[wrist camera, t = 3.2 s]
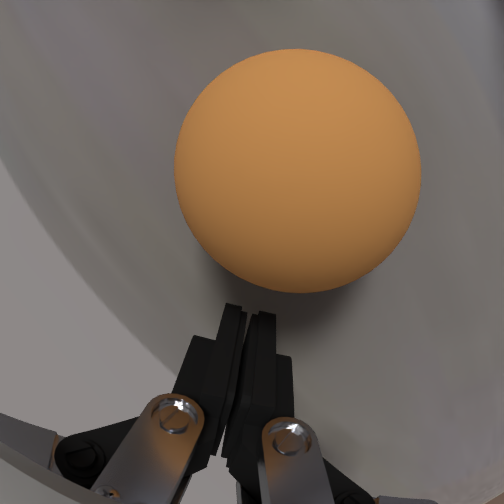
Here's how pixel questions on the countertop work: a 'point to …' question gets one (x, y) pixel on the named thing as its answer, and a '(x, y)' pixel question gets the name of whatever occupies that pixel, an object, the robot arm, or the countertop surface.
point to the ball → (297, 171)
